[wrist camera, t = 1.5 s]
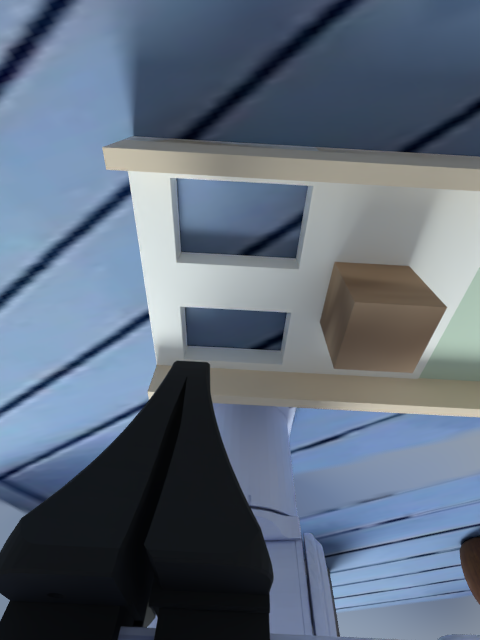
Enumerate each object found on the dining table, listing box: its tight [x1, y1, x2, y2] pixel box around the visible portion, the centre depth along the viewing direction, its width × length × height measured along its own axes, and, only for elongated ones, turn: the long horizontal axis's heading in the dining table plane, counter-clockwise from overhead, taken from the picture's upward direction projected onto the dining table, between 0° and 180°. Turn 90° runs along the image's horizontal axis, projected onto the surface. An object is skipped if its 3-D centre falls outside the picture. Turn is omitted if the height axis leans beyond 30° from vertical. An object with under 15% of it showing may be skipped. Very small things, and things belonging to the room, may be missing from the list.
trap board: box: [102, 136, 480, 417], centre depth 18 cm, size 15×28×4 cm, turn 87°
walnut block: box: [320, 262, 447, 373], centre depth 17 cm, size 4×4×4 cm
